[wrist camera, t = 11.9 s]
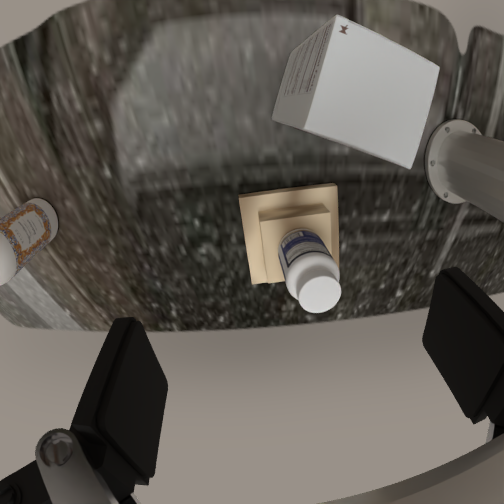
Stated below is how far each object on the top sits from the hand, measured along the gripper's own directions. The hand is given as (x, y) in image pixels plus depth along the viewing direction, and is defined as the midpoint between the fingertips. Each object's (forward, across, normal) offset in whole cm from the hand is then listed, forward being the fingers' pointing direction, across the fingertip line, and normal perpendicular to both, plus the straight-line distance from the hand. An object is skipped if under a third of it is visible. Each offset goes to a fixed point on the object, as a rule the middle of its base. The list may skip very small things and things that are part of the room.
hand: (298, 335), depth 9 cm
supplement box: (+31, -9, -7) cm, 33 cm away
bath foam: (+31, +31, +2) cm, 44 cm away
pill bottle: (+26, -4, +10) cm, 28 cm away
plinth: (+30, -4, +10) cm, 32 cm away
